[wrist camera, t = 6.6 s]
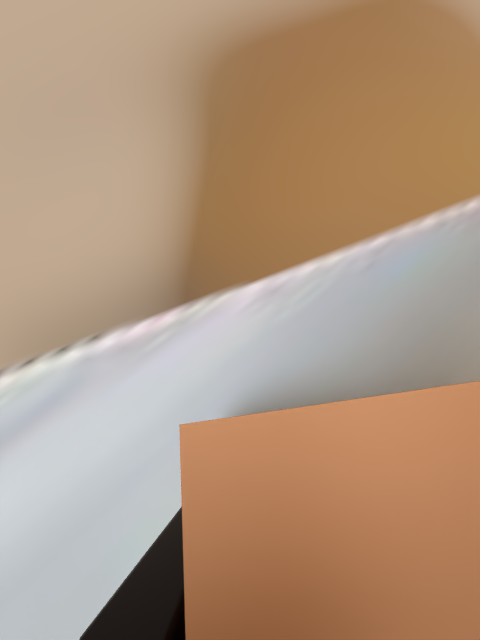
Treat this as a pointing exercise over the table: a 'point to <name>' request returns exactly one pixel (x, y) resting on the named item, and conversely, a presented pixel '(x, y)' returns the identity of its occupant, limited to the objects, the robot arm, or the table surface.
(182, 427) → the plug
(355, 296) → the table surface
